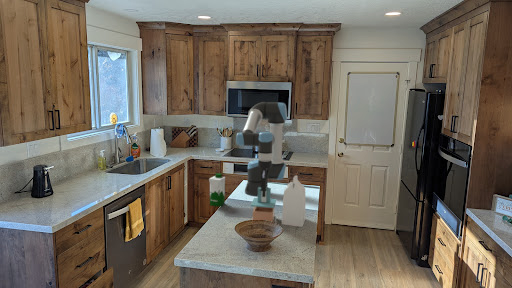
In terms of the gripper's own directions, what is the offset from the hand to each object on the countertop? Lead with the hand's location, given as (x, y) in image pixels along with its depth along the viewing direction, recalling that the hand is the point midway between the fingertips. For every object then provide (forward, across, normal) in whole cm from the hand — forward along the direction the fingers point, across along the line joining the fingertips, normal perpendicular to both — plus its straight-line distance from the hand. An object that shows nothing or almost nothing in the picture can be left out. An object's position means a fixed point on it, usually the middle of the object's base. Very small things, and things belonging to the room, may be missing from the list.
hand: (264, 201), depth 198 cm
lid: (+1, 0, 0) cm, 1 cm away
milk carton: (+11, -19, -32) cm, 39 cm away
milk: (+12, -1, +17) cm, 21 cm away
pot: (+12, 0, 0) cm, 12 cm away
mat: (+11, -8, -15) cm, 20 cm away
